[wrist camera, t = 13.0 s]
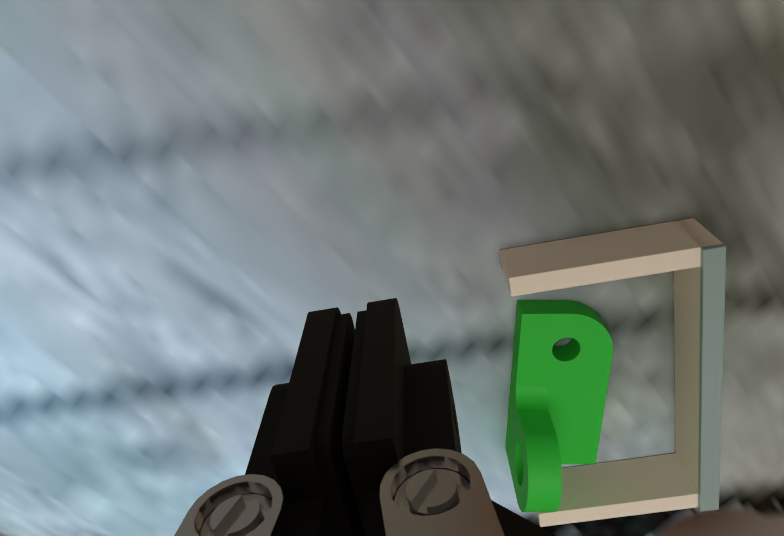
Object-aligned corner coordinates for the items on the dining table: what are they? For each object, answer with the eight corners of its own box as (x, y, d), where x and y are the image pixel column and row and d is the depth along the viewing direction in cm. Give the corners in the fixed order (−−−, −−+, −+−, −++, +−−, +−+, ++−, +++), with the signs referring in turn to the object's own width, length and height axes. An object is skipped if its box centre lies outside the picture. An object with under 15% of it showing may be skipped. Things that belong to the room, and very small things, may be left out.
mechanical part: (587, 444, 47) (621, 532, 40) (505, 445, 48) (523, 532, 40) (609, 298, 42) (653, 368, 35) (516, 298, 42) (540, 368, 35)
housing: (693, 217, 40) (726, 246, 36) (692, 463, 48) (718, 509, 44) (499, 250, 41) (510, 281, 37) (530, 485, 49) (541, 531, 45)
